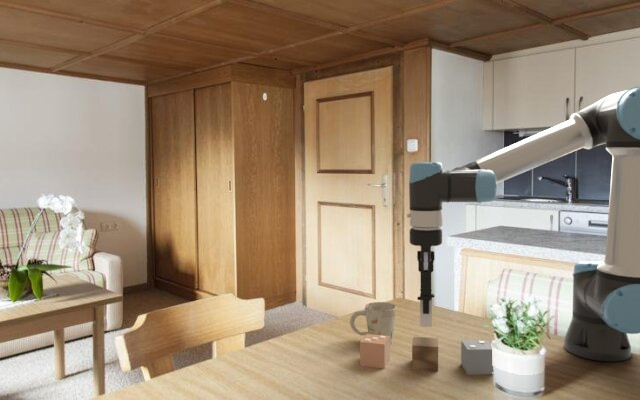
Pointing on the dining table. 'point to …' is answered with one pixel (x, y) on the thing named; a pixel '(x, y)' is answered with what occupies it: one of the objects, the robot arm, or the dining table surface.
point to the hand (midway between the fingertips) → (426, 325)
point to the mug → (377, 319)
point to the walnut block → (425, 354)
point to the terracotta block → (375, 351)
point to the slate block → (476, 356)
